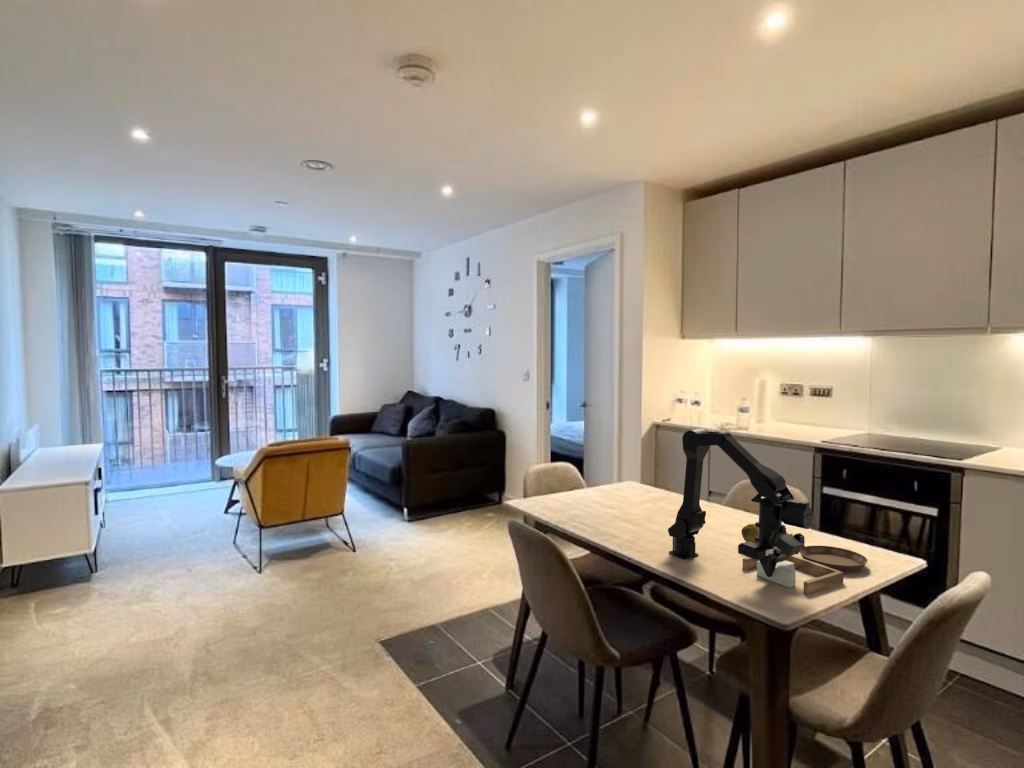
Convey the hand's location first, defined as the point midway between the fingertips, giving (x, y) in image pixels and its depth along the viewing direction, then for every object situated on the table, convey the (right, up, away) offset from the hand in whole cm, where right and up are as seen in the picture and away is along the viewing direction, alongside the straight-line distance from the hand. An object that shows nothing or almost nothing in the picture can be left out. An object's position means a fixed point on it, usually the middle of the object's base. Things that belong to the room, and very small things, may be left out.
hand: (769, 576), depth 156 cm
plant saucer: (+25, -1, +14) cm, 28 cm away
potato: (+9, 0, +24) cm, 26 cm away
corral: (+8, -1, +4) cm, 9 cm away
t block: (+5, -1, +3) cm, 5 cm away
